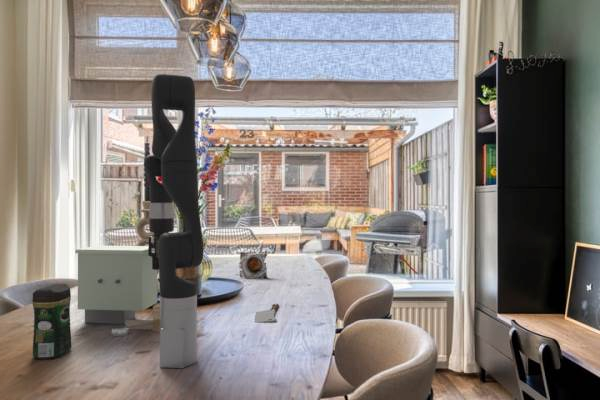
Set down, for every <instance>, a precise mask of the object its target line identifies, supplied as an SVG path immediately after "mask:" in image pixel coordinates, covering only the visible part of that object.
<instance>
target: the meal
mask: <svg viewBox="0 0 600 400" xmlns="http://www.w3.org/2000/svg"><path fill="white" fill-rule="evenodd" d="M239 254H240V256H239V258H240V259H239V262H238V267H239V277H240V278H246V279H256V278H258V279H260V278H261V279H262V278H263V279H268V274H267V269H268V268H267V262H265V261H266V258H267V256H268V253H253V254H252V253H251V252H240V253H239Z"/></svg>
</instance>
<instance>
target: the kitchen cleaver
mask: <svg viewBox="0 0 600 400" xmlns="http://www.w3.org/2000/svg"><path fill="white" fill-rule="evenodd" d="M279 306H280V305H279V303H274V304H272V307H271V309H268V310H262V311H261V310H260V311H256V312H255V315H254V318H255V319H254V320H255V321H254V320H253V323H264V324H265V323H276V322H277V321H278V320H277V319H276V317H275V314H276V313H277V310H278V309H279Z"/></svg>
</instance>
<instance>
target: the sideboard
mask: <svg viewBox="0 0 600 400" xmlns="http://www.w3.org/2000/svg"><path fill="white" fill-rule="evenodd" d="M148 248H149V245H93V246H92V245H91V246H87V247H83V248H77V249H75V254H77V310H84V323H86V324H89V323H91V324H93V323H94V324H117V325H118V324H119V325H120V324H122V325H123V324H124V325H125V320H135V318H136V312H143V311H145V310H146V309H148V308H150V307H153V306H154V305H156V304H157V303H158V270H153V269H152V258H151V256H149V255H148Z"/></svg>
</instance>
